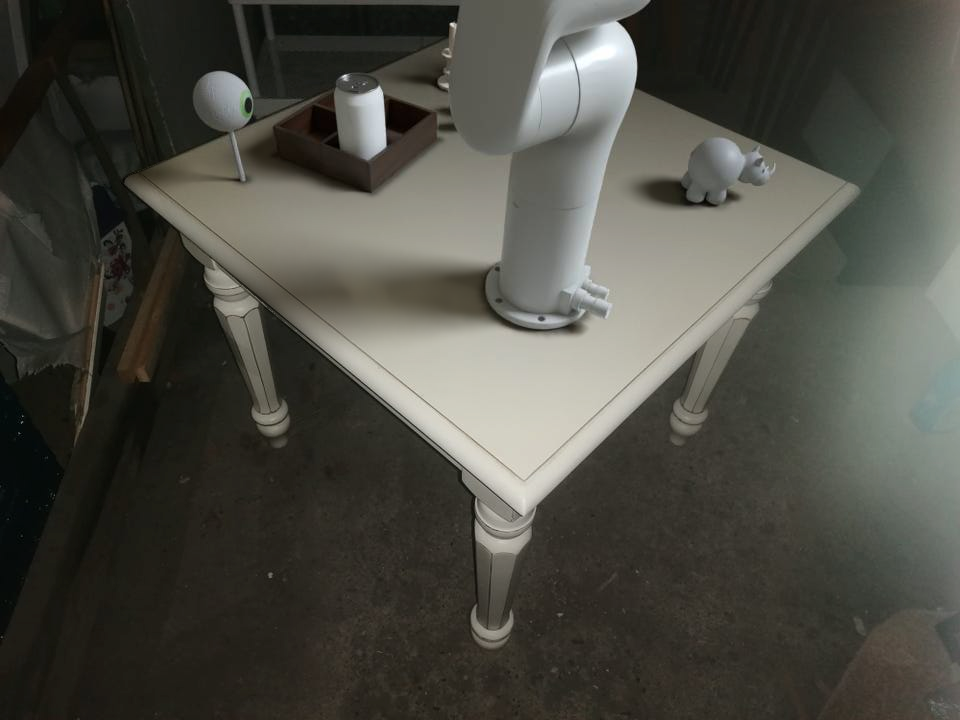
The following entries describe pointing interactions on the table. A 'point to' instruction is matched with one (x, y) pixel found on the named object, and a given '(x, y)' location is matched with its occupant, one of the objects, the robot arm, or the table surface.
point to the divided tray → (318, 147)
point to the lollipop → (224, 106)
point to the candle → (448, 58)
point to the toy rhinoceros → (722, 170)
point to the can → (360, 115)
